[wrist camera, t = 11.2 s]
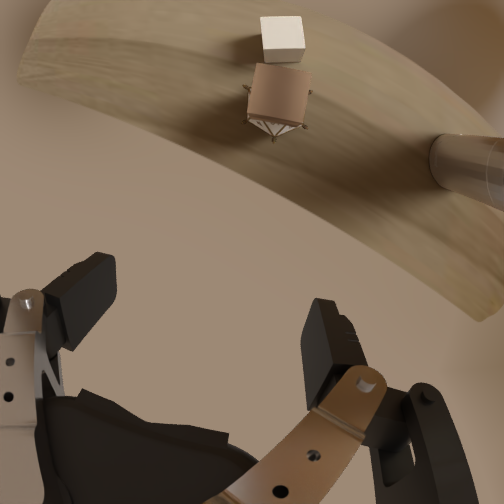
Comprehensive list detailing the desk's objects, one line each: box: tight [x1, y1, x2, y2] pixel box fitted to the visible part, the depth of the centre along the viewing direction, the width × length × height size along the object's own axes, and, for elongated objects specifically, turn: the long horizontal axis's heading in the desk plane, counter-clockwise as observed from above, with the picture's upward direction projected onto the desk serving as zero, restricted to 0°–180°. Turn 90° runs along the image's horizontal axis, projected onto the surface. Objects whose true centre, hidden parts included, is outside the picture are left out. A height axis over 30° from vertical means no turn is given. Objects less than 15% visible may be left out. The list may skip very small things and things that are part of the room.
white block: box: [260, 16, 305, 63], centre depth 28 cm, size 5×5×6 cm
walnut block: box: [247, 63, 312, 128], centre depth 24 cm, size 5×5×6 cm
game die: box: [241, 85, 313, 144], centre depth 30 cm, size 9×8×10 cm
